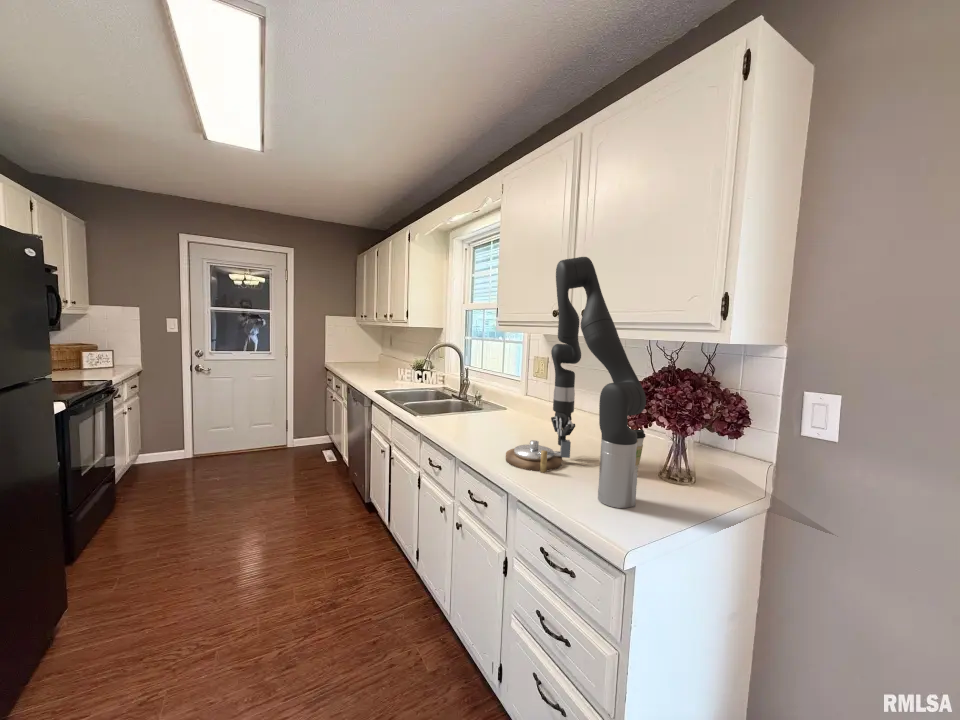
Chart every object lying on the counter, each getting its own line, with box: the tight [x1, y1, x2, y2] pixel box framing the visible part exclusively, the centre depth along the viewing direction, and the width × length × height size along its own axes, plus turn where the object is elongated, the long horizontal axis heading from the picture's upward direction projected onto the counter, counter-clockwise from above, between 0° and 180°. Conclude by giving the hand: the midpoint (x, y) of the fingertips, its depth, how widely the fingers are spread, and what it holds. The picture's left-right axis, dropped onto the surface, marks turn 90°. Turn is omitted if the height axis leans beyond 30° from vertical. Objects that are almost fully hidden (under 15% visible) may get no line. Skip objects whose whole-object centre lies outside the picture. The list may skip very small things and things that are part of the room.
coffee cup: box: [628, 425, 646, 472], centre depth 132 cm, size 10×10×15 cm
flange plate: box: [513, 439, 572, 461], centre depth 140 cm, size 20×14×6 cm
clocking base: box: [505, 448, 563, 474], centre depth 139 cm, size 20×22×7 cm
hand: (561, 445), depth 144 cm, fingers closed
